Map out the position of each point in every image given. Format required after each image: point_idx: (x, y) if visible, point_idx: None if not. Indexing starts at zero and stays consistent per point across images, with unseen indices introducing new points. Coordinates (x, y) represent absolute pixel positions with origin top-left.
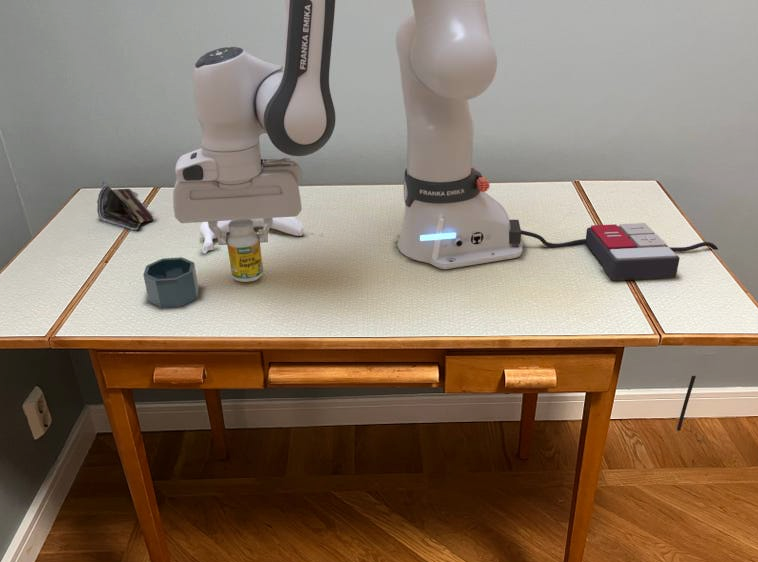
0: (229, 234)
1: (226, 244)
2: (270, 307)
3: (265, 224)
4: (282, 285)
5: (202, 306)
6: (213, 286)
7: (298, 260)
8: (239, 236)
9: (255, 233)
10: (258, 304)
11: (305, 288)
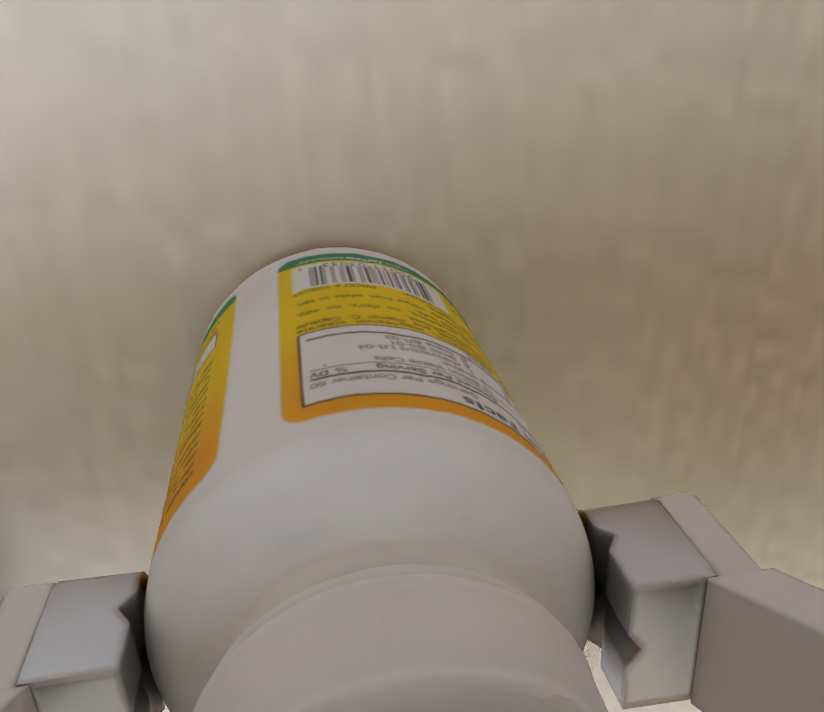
0: (175, 648)
1: None
2: None
3: (793, 647)
4: (596, 443)
5: None
6: (57, 460)
7: (766, 19)
8: None
9: (573, 621)
10: None
11: (742, 479)
